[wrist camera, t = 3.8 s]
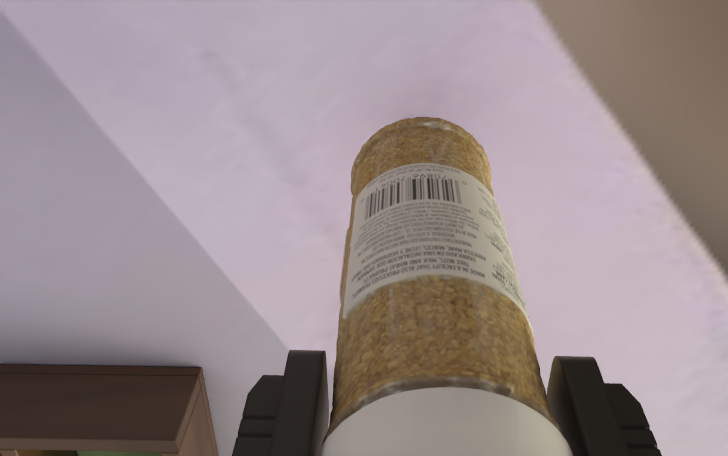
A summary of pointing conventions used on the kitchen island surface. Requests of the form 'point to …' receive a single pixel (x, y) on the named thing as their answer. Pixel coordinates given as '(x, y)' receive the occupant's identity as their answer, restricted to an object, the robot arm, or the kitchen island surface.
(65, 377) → the wooden compartment tray
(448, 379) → the sprinkles bottle
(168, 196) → the kitchen island surface
